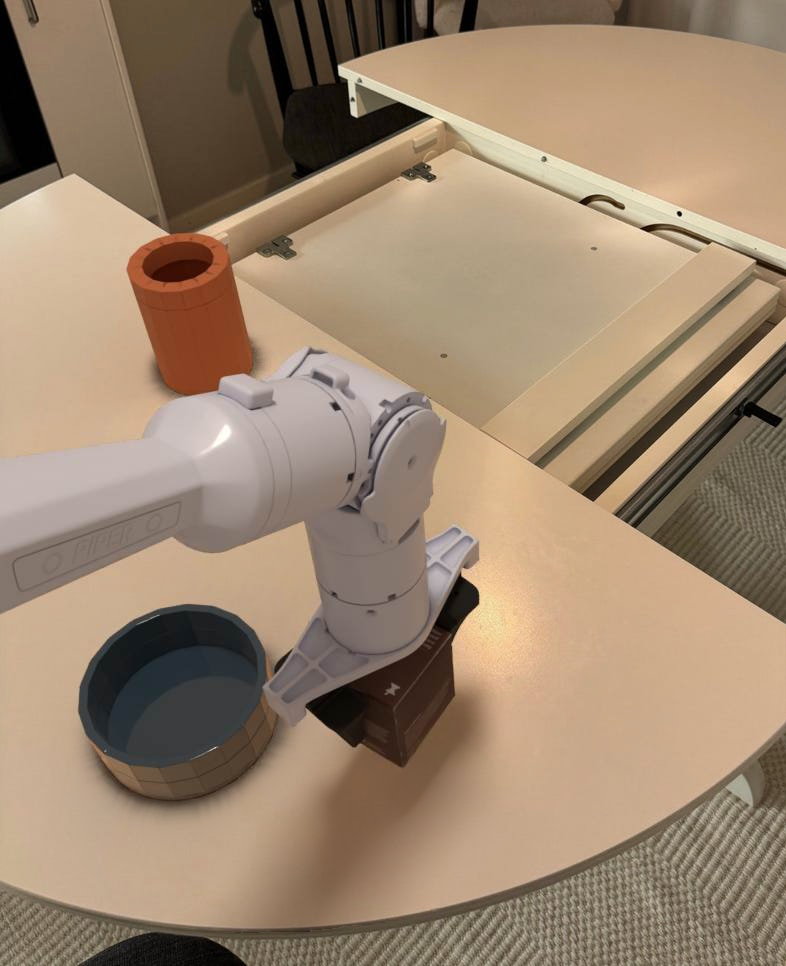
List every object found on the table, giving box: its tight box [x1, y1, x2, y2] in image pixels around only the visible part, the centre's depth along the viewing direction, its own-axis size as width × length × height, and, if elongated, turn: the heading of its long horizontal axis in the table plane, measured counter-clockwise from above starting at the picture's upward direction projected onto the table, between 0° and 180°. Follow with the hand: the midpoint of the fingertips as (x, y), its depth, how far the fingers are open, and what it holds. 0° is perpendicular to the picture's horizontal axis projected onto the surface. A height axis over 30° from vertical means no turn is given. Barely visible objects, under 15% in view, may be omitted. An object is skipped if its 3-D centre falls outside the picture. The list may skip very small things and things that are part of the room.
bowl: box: [77, 603, 278, 801], centre depth 66 cm, size 12×12×5 cm
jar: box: [126, 232, 254, 396], centre depth 88 cm, size 9×9×12 cm
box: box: [349, 624, 456, 769], centre depth 58 cm, size 6×6×7 cm
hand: (389, 694), depth 59 cm, fingers closed on box, 6 cm apart
